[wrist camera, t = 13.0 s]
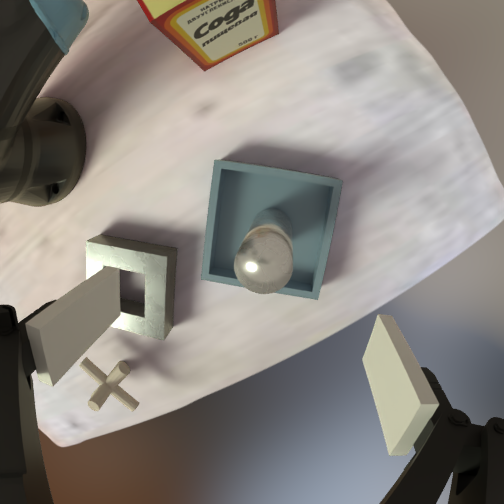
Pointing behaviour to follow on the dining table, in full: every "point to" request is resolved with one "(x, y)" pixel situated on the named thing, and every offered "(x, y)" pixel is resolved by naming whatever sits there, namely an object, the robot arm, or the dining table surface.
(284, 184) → the parts tray
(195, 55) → the baking soda box
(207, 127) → the dining table surface
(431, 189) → the dining table surface
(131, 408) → the pipe connector
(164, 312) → the block
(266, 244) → the shiny metal cylinder
